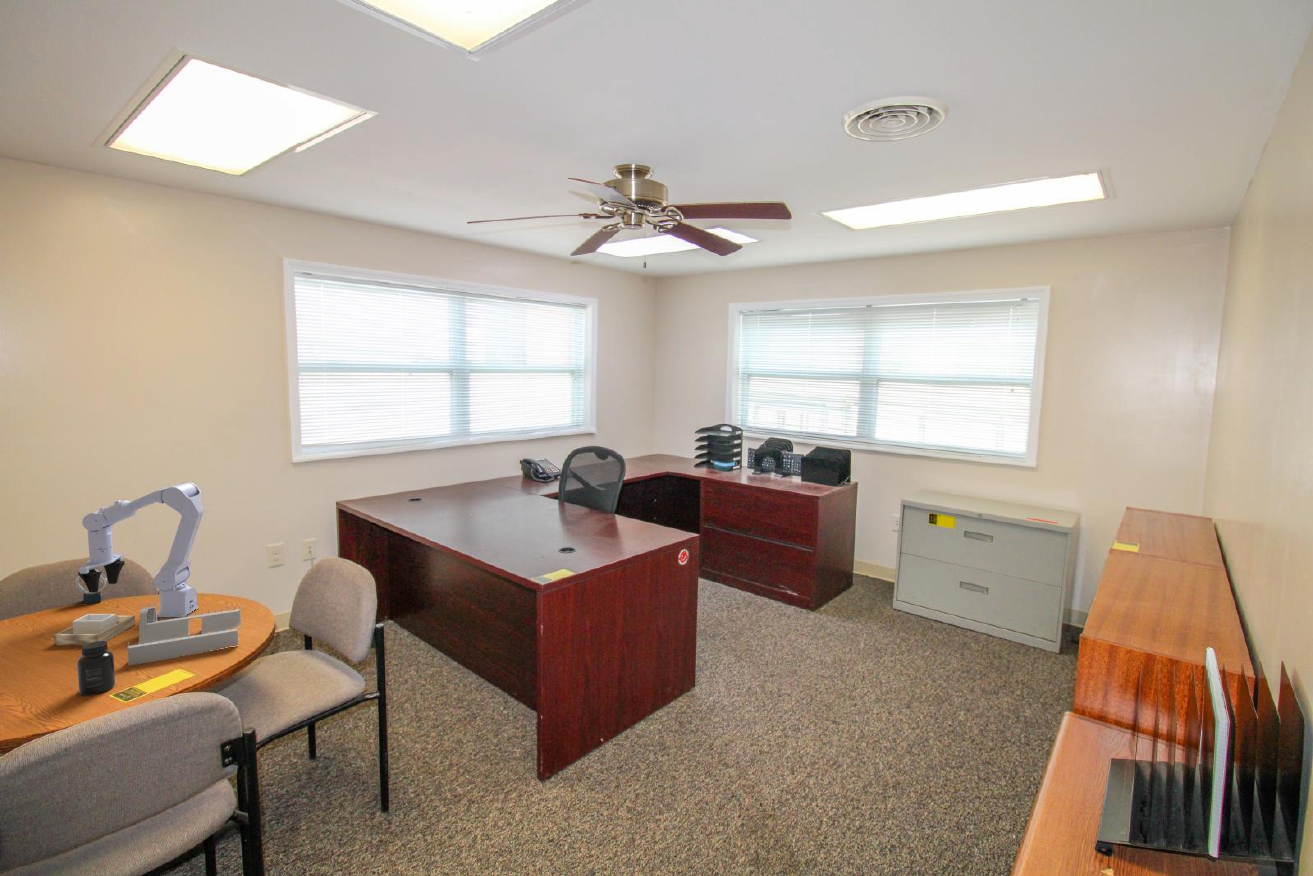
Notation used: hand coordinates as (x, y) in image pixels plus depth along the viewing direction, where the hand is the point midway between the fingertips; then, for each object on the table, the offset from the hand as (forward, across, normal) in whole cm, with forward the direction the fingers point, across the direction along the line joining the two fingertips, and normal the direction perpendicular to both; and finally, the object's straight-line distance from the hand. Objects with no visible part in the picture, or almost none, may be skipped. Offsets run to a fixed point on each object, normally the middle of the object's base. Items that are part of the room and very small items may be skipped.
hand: (103, 587), depth 195 cm
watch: (+10, -12, -13) cm, 20 cm away
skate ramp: (+10, +19, +38) cm, 44 cm away
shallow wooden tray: (+9, +15, +9) cm, 20 cm away
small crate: (+9, +15, +9) cm, 19 cm away
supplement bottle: (+10, +47, +34) cm, 59 cm away
